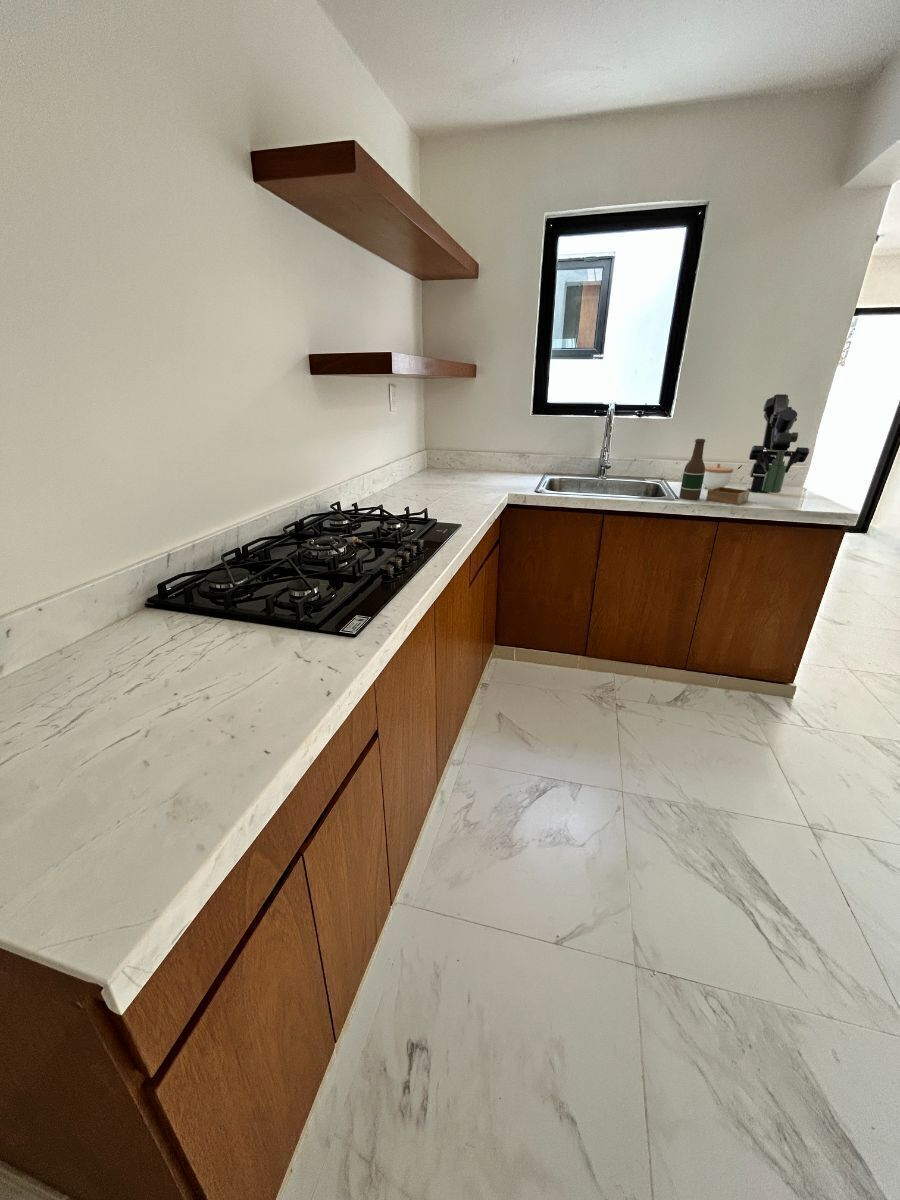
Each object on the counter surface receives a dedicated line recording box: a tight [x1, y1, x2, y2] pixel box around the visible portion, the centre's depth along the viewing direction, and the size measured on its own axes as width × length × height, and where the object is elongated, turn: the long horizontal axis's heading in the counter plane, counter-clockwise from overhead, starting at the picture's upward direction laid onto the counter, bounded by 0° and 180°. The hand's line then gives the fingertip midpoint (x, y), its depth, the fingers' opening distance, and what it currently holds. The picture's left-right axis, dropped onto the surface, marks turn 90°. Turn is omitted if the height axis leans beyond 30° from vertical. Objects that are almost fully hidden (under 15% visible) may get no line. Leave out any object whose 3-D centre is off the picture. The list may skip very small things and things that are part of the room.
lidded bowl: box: [702, 463, 734, 490], centre depth 229 cm, size 13×13×11 cm
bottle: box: [762, 451, 788, 494], centre depth 191 cm, size 6×6×15 cm
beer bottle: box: [679, 438, 706, 501], centre depth 203 cm, size 8×8×24 cm
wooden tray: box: [705, 486, 751, 506], centre depth 203 cm, size 12×12×4 cm
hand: (776, 471), depth 190 cm, fingers closed on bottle, 6 cm apart
